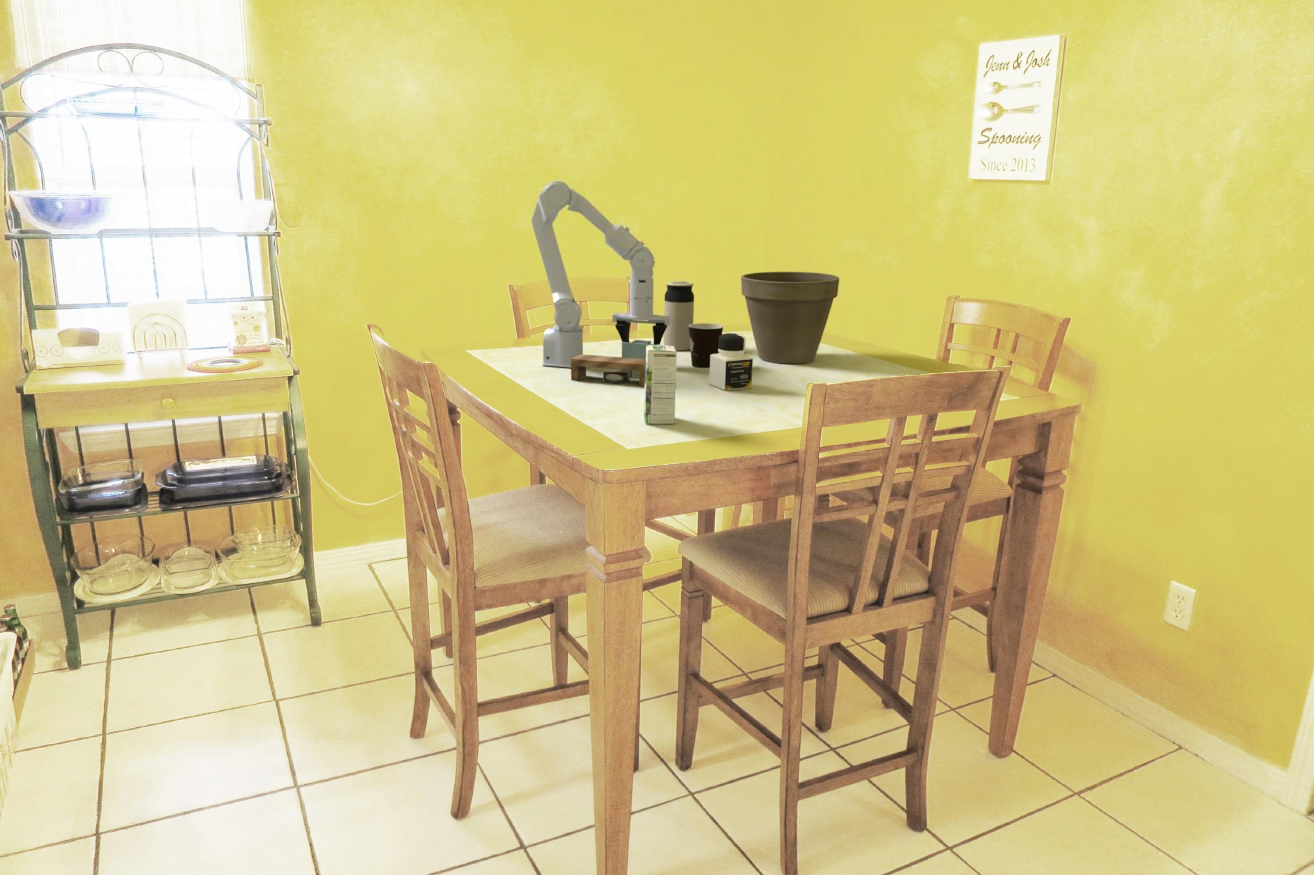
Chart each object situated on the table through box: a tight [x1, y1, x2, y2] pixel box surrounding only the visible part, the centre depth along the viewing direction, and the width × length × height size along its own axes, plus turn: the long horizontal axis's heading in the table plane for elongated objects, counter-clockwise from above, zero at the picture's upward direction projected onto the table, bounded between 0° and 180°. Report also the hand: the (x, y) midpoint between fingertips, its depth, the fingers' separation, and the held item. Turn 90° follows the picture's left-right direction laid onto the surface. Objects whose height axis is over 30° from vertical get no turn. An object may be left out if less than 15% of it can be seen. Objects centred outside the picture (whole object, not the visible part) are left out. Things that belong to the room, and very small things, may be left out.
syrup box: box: [643, 344, 678, 425], centre depth 176 cm, size 6×6×14 cm
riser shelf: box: [570, 353, 646, 387], centre depth 210 cm, size 18×6×5 cm, turn 74°
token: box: [602, 368, 630, 385], centre depth 211 cm, size 6×6×2 cm
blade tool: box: [621, 339, 654, 379], centre depth 222 cm, size 8×17×6 cm, turn 164°
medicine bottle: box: [708, 332, 754, 392], centre depth 206 cm, size 7×7×12 cm
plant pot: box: [740, 271, 840, 365], centre depth 237 cm, size 25×25×22 cm
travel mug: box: [663, 280, 695, 352], centre depth 248 cm, size 8×8×18 cm
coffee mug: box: [689, 322, 724, 369], centre depth 230 cm, size 12×9×10 cm
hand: (641, 352), depth 228 cm, fingers open, 7 cm apart
